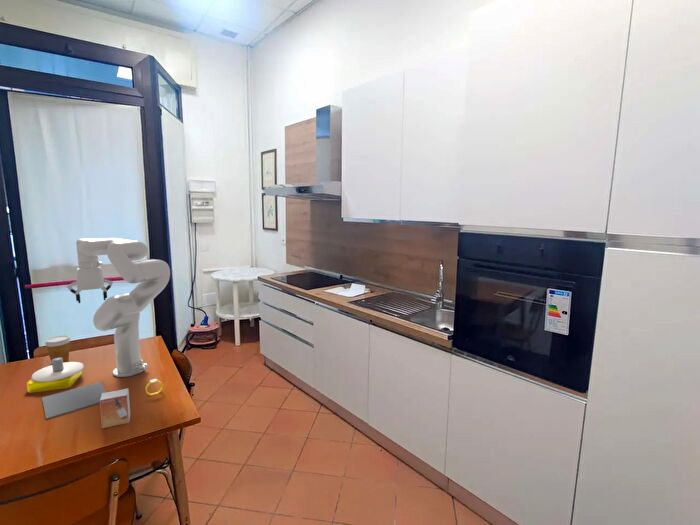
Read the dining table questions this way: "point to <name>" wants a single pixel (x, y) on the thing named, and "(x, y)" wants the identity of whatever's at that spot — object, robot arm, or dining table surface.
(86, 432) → the dining table surface
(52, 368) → the lid
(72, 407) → the mat
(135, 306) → the robot arm
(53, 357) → the disposable coffee cup
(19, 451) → the dining table surface
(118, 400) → the small box
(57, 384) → the element tile
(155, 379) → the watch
